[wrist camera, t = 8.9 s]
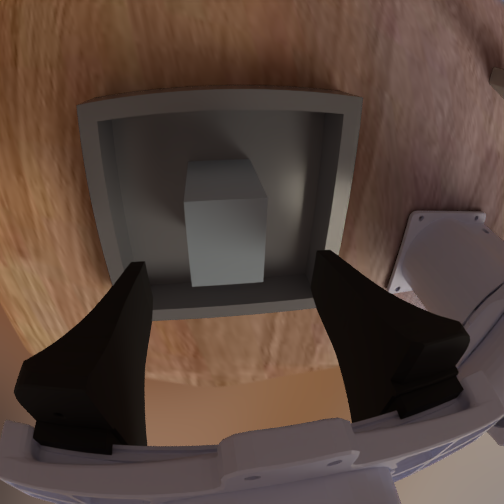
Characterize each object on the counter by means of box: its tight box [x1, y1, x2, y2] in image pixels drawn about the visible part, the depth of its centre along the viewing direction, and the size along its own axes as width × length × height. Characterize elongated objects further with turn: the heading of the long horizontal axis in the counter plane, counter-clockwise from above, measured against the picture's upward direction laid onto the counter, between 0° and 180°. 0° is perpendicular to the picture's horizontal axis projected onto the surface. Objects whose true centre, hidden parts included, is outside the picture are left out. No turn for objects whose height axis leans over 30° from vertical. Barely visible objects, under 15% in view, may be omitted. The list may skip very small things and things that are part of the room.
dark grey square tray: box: [77, 85, 363, 321], centre depth 18 cm, size 14×14×3 cm
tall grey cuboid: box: [184, 159, 268, 287], centre depth 16 cm, size 4×4×6 cm
